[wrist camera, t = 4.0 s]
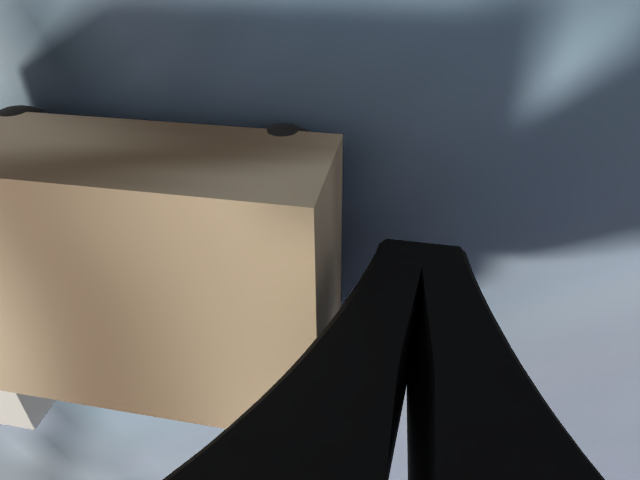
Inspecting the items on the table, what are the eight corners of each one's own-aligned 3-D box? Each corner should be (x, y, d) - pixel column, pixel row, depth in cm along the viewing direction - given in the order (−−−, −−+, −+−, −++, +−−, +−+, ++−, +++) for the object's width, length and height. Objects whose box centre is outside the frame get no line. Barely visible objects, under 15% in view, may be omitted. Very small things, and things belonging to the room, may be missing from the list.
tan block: (350, 113, 9) (313, 204, 7) (345, 328, 12) (318, 446, 10) (-8, 90, 10) (-151, 161, 8) (66, 291, 13) (-21, 388, 11)
